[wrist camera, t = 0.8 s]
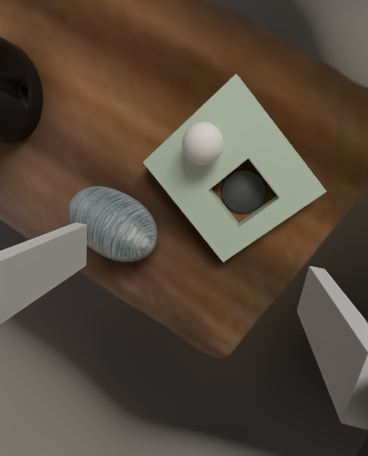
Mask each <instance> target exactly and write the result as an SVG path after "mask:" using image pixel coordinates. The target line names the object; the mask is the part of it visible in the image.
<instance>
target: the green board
mask: <svg viewBox="0 0 368 456" xmlns="http://www.w3.org/2000/svg"><path fill="white" fill-rule="evenodd" d="M199 122H208V123H211V124H213V125H214V126H216V127H217V128H218V129H219V131H220V132H221V134H222V137H223V150H222V152H221V154H220V156H219V157H218V159H217V160H216V161H214V162H213V163H211V164H208V165H203V166H202V165H196V164H194V163H192V162H190V161H189V160H188V159H187V158H186V156H185V155H184V152H183V149H182V139H183V136H184V134H185V132H186V131H187V129H188V128H189V127H190V126H192V125H193V124H196V123H199ZM247 159H249V160H250V162H251V163H252V164H253V166H254V167H255V168H256V169H257V171H258V172H259V173H260V175H261V176H262V177H263V178H264V180H265V181H266V182H267V184H268V185H269V186H270V187H271V189H272V190H273V191H274V193H275V194H276V195H277V196H275V197H274V198H273V199H271V200H270V201H268V202H267V203H266V204H264V205H263V206H261V207H260V208H259V209H257V210H256V211H255V212H253V213H252V214H250V215H249V216H248V217H246V218H245V219H244V220H242V221H241V222H239V223H238V222H237V220H236V219H235V218H234V216H233V215H232V214H231V213H230V211H229V210H228V209H227V208H226V206H225V205H224V204H223V203H222V201H221V200H220V199H219V198H218V196H217V195H216V194H215V192H214V191H213V190H212V189H211V188H212V187H213V186H215V185H216V184H217V183H218V182H220V181H221V180H222V179H223V178H225V177H226V176H227V175H228V174H230V173H231V172H232V171H233V170H234V169H236V168H237V167H238V166H239V165H241V164H242V163H243V162H244V161H246V160H247ZM143 163H144V164H145V166H146V167H147V168H148V169H149V171H150V172H151V173H152V174H153V176H154V177H155V178H156V179H157V181H158V182H159V183H160V184H161V186H162V187H163V188H164V189H165V190H166V192H167V193H168V194H169V195H170V197H171V198H172V199H173V200H174V202H175V203H176V204H177V205H178V207H179V208H180V209H181V210H182V212H183V213H184V214H185V215H186V217H187V218H188V219H189V220H190V222H191V223H192V224H193V225H194V227H195V228H196V229H197V230H198V232H199V233H200V234H201V235H202V237H203V238H204V239H205V240H206V242H207V243H208V244H209V245H210V247H211V248H212V249H213V250H214V252H215V253H216V254H217V255H218V257H219V258H220V259H221V260H222V262H224V261H226V260H227V259H229V258H230V257H232V256H233V255H234V254H236V253H237V252H239V251H240V250H242V249H243V248H245V247H246V246H248V245H249V244H251V243H252V242H254V241H255V240H256V239H258V238H259V237H261V236H262V235H264V234H265V233H267V232H268V231H270V230H271V229H273V228H274V227H275V226H277V225H278V224H280V223H281V222H283V221H284V220H286V219H287V218H289V217H290V216H292V215H293V214H294V213H296V212H297V211H299V210H300V209H302V208H303V207H305V206H306V205H308V204H309V203H311V202H312V201H314V200H315V199H316V198H318V197H319V196H321V195H322V194H324V193H325V192H327V191H326V190H325V189H324V187H323V186H322V185H321V183H320V182H319V181H318V180H317V178H316V177H315V176H314V174H313V173H312V172H311V170H310V169H309V168H308V167H307V165H306V164H305V163H304V161H303V160H302V159H301V157H300V156H299V155H298V153H297V152H296V151H295V150H294V148H293V147H292V146H291V144H290V143H289V142H288V140H287V139H286V138H285V137H284V135H283V134H282V133H281V131H280V130H279V129H278V127H277V126H276V125H275V123H274V122H273V121H272V120H271V118H270V117H269V116H268V114H267V113H266V112H265V110H264V109H263V108H262V107H261V105H260V104H259V103H258V101H257V100H256V99H255V97H254V96H253V95H252V93H251V92H250V91H249V90H248V88H247V87H246V86H245V84H244V83H243V82H242V80H241V79H240V78H239V77H238V75H237V74H235V75H234V76H233V77H232V78H231V79H230V80H229V81H228V82H227V83H226V84H225V85H224V86H223V87H222V88H221V89H220V90H219V91H218V92H217V93H215V94H214V95H213V96H212V97H211V98H210V99H209V100H208V101H207V102H206V103H205V104H204V105H203V106H202V107H201V108H200V109H199V110H198V111H196V112H195V113H194V114H193V115H192V116H191V117H190V118H189V119H188V120H187V121H186V122H185V123H184V124H183V125H182V126H181V127H180V128H179V129H178V130H176V131H175V132H174V133H173V134H172V135H171V136H170V137H169V138H168V139H167V140H166V141H165V142H164V143H163V144H162V145H161V146H160V147H159V148H157V149H156V150H155V151H154V152H153V153H152V154H151V155H150V156H149V157H148V158H147V159H146V160H145V161H144V162H143ZM222 197H223V200H224V202H225V204H226V205H227V206H228V207H229V208H230V209H231V210H233V211H235V212H239V213H247V212H251V211H253V210H255V209H256V208H258V207H259V206H260V204H261V203H262V202H263V200H264V197H265V185H264V182H263V180H262V179H261V178H260V177H259V176H258V175H257V174H256V173H254V172H251V171H247V170H241V171H237V172H235V173H233V174H231V175H230V176H229V177H228V178H227V179H226V180H225V182H224V184H223V187H222Z"/></svg>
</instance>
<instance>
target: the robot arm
mask: <svg viewBox="0 0 368 456" xmlns="http://www.w3.org/2000/svg"><path fill="white" fill-rule="evenodd" d="M42 100H43V97H42V87H41V82H40V79H39V76H38V73H37V70H36V68H35V66H34V65H33V63H32V61H31V60H30V58H29V57H28V56H27V55H26V54H25V52H24V51H23V50H21V49H20V48H19V47H18V46H16V45H14V44H13V43H11V42H9V41H7V40H5V39H3V38H1V37H0V143H15V142H18V141H21V140H23V139H24V138H26V137H27V136H28V135H29V134H30V133H31V132H32V131H33V130H34V128H35V127H36V125H37V123H38V120H39V118H40V114H41V110H42ZM86 253H87V224H81V223H73V224H71V225H68V226H65V227H63V228H60V229H57V230H55V231H52V232H50V233H47V234H44V235H42V236H39V237H36V238H34V239H31V240H28V241H26V242H23V243H21V244H18V245H15V246H13V247H10V248H7V249H5V250H2V251H0V324H1V323H3V322H4V321H6V320H7V319H9V318H10V317H11V316H13V315H14V314H16V313H17V312H19V311H20V310H22V309H23V308H25V307H26V306H27V305H29V304H30V303H32V302H33V301H35V300H36V299H38V298H39V297H41V296H42V295H44V294H45V293H46V292H48V291H49V290H51V289H52V288H54V287H55V286H57V285H58V284H59V283H61V282H62V281H64V280H65V279H67V278H68V277H70V276H71V275H73V274H74V273H76V272H77V271H79V270H80V269H82V268H83V267H84V266H86ZM297 312H298V314H299V317H300V320H301V322H302V324H303V327H304V330H305V332H306V335H307V337H308V340H309V342H310V345H311V347H312V350H313V353H314V355H315V358H316V360H317V362H318V365H319V368H320V370H321V373H322V375H323V378H324V380H325V383H326V386H327V388H328V391H329V393H330V396H331V398H332V401H333V403H334V406H335V408H336V411H337V414H338V416H339V419H340V421H341V423H344V424H347V425H351V426H355V427H359V428H362V429H366V430H367V428H368V321H367V320H365V319H364V318H363V316H362V315H361V314H360V313H359V312H358V310H357V309H356V308H355V306H354V305H353V304H352V303H351V302H350V300H349V299H348V298H347V297H346V295H345V294H344V293H343V292H342V290H341V289H340V288H339V287H338V285H337V284H336V283H335V281H333V279H332V278H331V276H330V275H329V274H328V273H327V272H326V270H325V269H322V268H316V267H311V266H309V270H308V273H307V277H306V280H305V284H304V287H303V291H302V294H301V298H300V302H299V305H298V309H297ZM356 456H368V436H367V438H366V440H365V441H364V443H363V445H362V446H361V448H360V450H359V451H358V453H357V455H356Z"/></svg>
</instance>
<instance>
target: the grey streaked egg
mask: <svg viewBox="0 0 368 456" xmlns="http://www.w3.org/2000/svg"><path fill="white" fill-rule="evenodd" d="M68 216H69V221H70V223H71V224H73V223H81V224H87V246H88V247H90V248H91V249H92V250H94V251H95V252H97V253H98V254H100V255H102V256H104V257H106V258H109V259H112V260H115V261H120V262H134V261H138V260H141V259H143V258H145V257H147V256H148V255H149V254H150V253H151V252H152V251H153V250H154V248H155V246H156V244H157V239H158V230H157V226H156V223H155V221H154V219H153V217H152V215H151V214H150V212H149V211H148V210H147V209H146V208H145V207H144V206H143V205H142V204H141V203H140V202H138V201H137V200H135V199H134V198H132V197H130V196H129V195H127V194H125V193H122V192H120V191H117V190H115V189H112V188H107V187H98V186H96V187H88V188H85V189H83V190H81V191H80V192H78V193H77V194H76V195H75V196H74V197H73V198H72V200H71V202H70V204H69V208H68Z"/></svg>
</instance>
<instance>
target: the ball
mask: <svg viewBox="0 0 368 456" xmlns="http://www.w3.org/2000/svg"><path fill="white" fill-rule="evenodd" d="M182 149H183V152H184V155H185V156H186V158H187V159H188V160H189V161H190V162H192V163H194V164H196V165H202V166H203V165H208V164H211V163H213V162H214V161H216V160H217V159H218V157H219V156H220V154H221V152H222V150H223V137H222V134H221V132H220V131H219V129H218V128H217V127H216V126H214V125H213V124H211V123H208V122H199V123H196V124H193V125H192V126H190V127H189V128H188V129H187V131H186V132H185V134H184V136H183V139H182Z"/></svg>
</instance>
